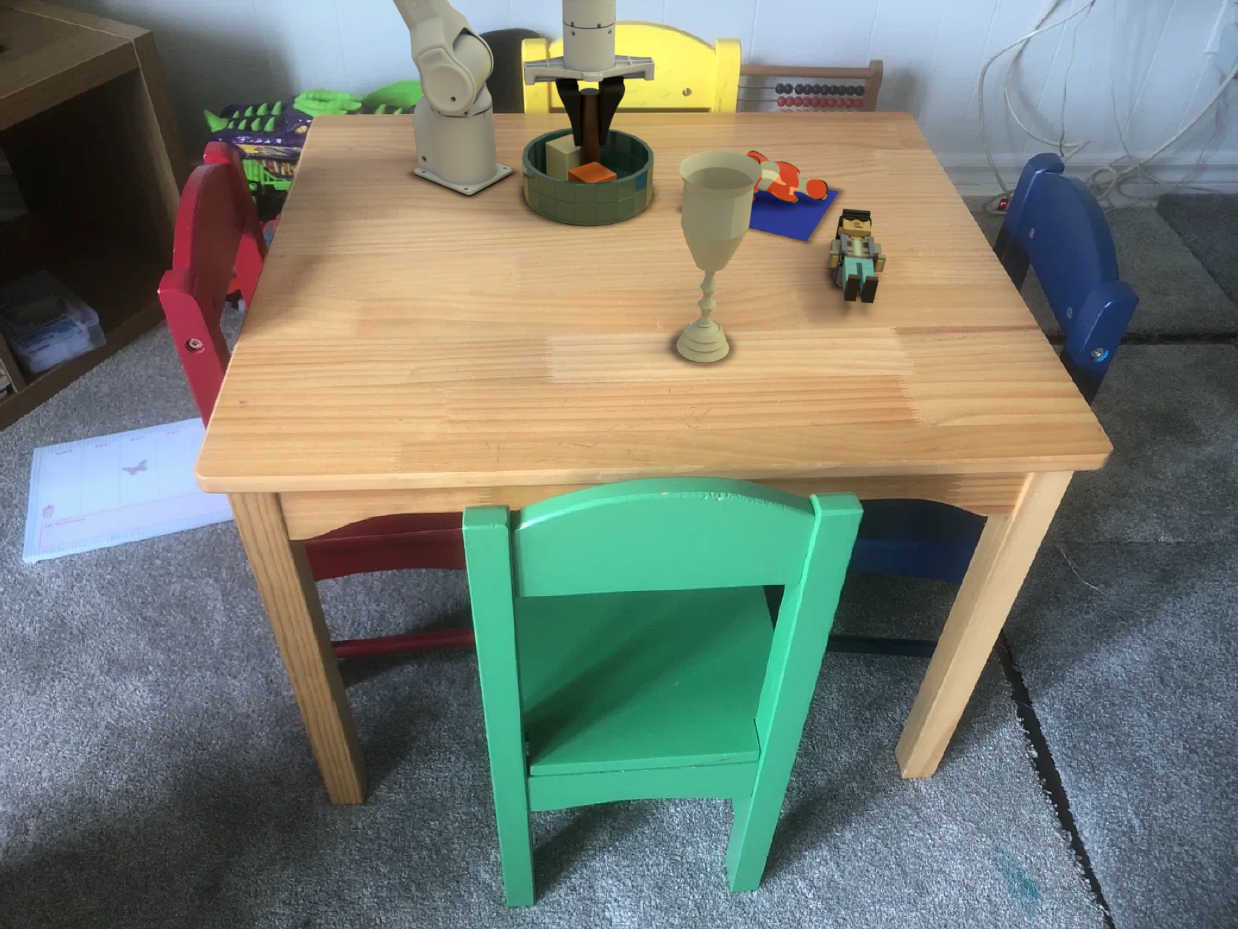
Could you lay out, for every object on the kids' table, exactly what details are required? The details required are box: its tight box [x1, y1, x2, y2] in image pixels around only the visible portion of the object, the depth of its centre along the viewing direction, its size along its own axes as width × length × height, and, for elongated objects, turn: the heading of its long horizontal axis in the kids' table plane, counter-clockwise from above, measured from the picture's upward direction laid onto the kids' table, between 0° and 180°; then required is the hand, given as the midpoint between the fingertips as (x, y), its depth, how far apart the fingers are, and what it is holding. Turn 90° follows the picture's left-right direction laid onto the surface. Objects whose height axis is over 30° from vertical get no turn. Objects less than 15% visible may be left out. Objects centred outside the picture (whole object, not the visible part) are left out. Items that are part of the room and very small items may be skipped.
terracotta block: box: [568, 162, 617, 183], centre depth 106 cm, size 4×4×4 cm
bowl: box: [521, 127, 655, 227], centre depth 108 cm, size 15×15×5 cm
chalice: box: [676, 150, 762, 363], centre depth 82 cm, size 7×7×18 cm
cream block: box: [546, 134, 580, 181], centre depth 111 cm, size 4×4×4 cm
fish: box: [745, 150, 830, 204], centre depth 107 cm, size 13×5×8 cm
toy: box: [827, 208, 887, 304], centre depth 96 cm, size 6×4×15 cm
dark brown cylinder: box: [579, 87, 601, 166], centre depth 106 cm, size 2×2×9 cm
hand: (589, 142), depth 108 cm, fingers closed on dark brown cylinder, 2 cm apart
